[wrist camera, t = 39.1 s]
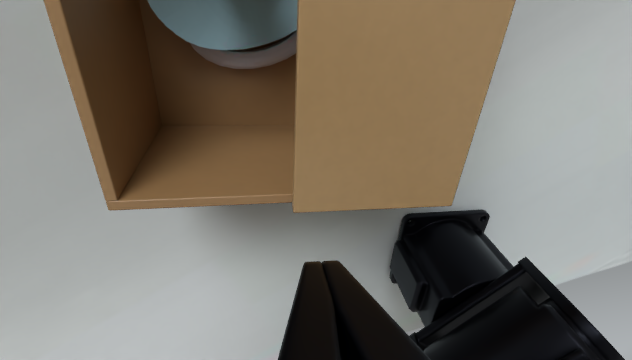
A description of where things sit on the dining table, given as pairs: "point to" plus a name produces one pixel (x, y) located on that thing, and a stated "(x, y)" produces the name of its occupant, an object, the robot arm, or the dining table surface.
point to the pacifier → (233, 29)
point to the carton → (173, 111)
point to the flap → (389, 99)
